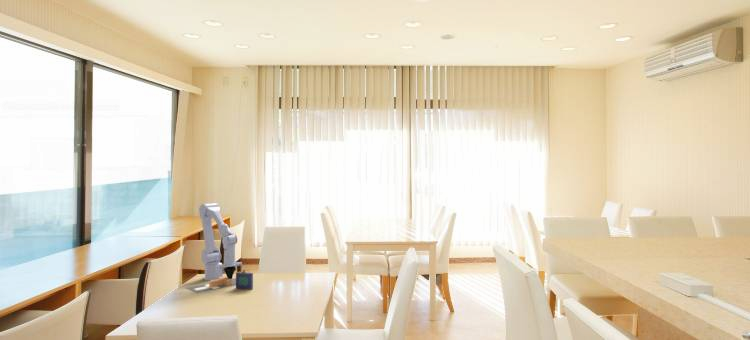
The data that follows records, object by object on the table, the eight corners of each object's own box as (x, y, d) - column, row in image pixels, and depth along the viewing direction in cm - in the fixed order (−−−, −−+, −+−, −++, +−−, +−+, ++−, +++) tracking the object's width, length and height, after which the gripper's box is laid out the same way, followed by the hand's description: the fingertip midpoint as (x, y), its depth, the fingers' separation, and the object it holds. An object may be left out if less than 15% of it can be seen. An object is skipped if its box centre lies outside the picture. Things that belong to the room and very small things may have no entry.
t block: (222, 281, 259) (222, 276, 259) (232, 284, 253) (232, 279, 253) (205, 285, 252) (206, 279, 252) (215, 288, 245) (215, 282, 245)
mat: (237, 278, 268) (237, 277, 268) (250, 282, 259) (250, 282, 259) (185, 288, 246) (185, 287, 246) (196, 293, 236) (196, 293, 236)
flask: (253, 288, 247) (253, 268, 247) (251, 290, 244) (251, 270, 244) (236, 288, 248) (236, 268, 247) (234, 289, 245) (234, 269, 245)
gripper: (221, 259, 249) (221, 284, 249) (245, 255, 260) (244, 279, 260) (214, 257, 254) (214, 281, 254) (238, 253, 264) (238, 277, 265)
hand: (229, 280), depth 257 cm, fingers closed
